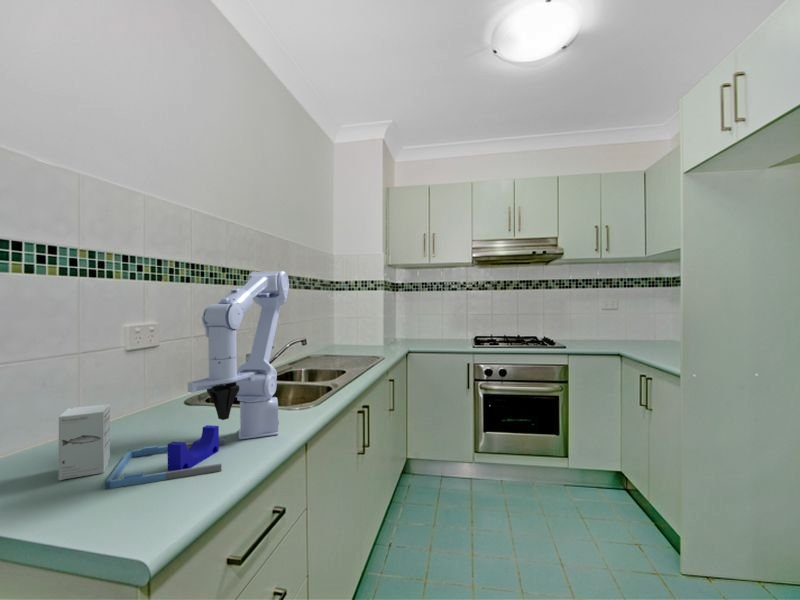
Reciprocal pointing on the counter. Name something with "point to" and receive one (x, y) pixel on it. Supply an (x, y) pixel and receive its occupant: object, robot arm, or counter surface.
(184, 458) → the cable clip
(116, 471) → the blue grey open frame
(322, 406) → the counter surface
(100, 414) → the supplement box
